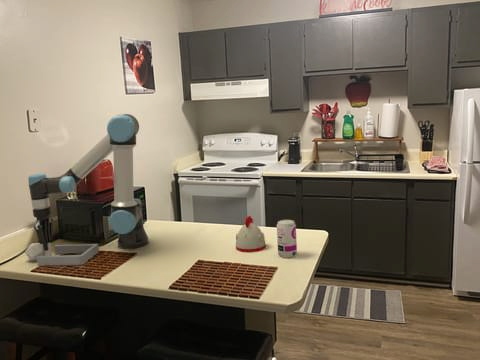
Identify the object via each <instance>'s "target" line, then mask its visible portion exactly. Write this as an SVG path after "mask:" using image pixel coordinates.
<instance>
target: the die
mask: <svg viewBox="0 0 480 360" xmlns="http://www.w3.org/2000/svg"><path fill="white" fill-rule="evenodd" d="M24 253H25V255H26V256H27V258H28V259H29V261H30V262H37V257H38V256H45V253H44V247H43V244H40V243H39V242H35V243H29V246H28V247H27V248H26V250H25V252H24Z"/></svg>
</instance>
